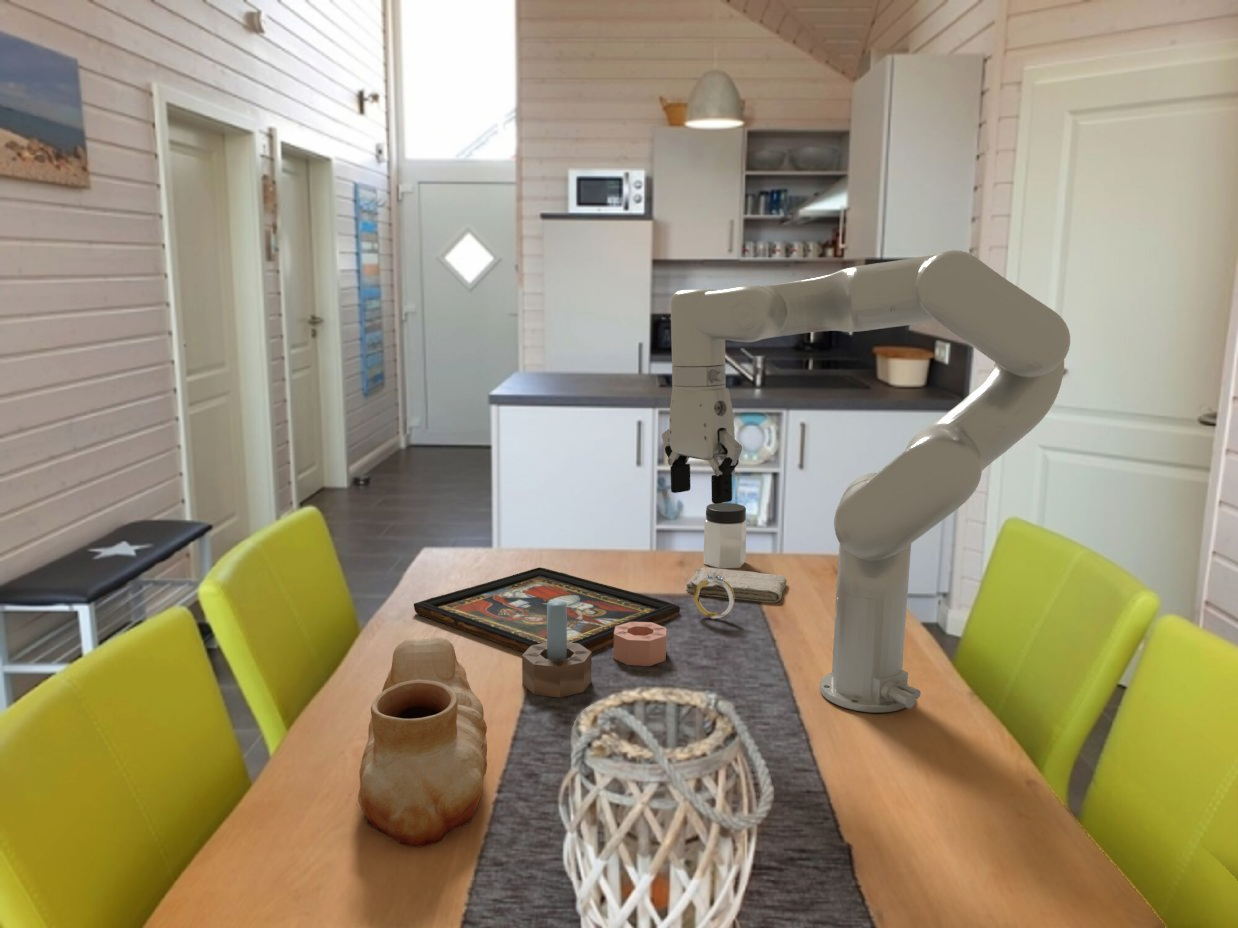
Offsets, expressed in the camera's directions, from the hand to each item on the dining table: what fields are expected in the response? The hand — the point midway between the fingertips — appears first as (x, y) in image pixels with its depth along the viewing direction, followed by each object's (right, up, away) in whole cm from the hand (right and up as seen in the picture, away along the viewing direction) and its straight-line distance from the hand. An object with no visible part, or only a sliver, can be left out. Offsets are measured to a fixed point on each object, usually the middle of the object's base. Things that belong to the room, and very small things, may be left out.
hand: (700, 496), depth 137 cm
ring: (+5, -22, +28) cm, 36 cm away
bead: (-21, -27, 0) cm, 34 cm away
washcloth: (+11, -20, +44) cm, 49 cm away
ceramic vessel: (-34, -32, -28) cm, 55 cm away
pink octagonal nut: (-9, -25, +11) cm, 29 cm away
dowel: (-21, -27, 0) cm, 34 cm away
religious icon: (-24, -22, +29) cm, 44 cm away
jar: (+10, -16, +61) cm, 63 cm away
